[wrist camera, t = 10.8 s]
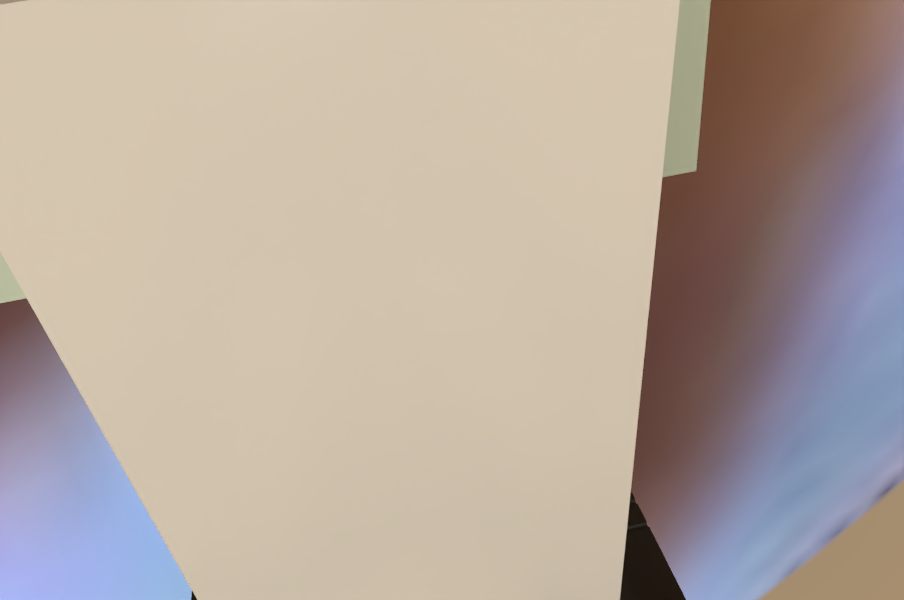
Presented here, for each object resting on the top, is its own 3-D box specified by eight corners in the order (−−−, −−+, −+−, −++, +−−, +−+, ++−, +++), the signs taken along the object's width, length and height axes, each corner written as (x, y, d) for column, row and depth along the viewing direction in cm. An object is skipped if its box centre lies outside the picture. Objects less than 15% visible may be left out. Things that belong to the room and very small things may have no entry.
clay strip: (62, -165, 7) (-129, 24, 3) (468, -219, 7) (690, -101, 4) (376, 725, 18) (408, 972, 15) (523, 688, 19) (587, 921, 15)
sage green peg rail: (-105, -311, 12) (-559, -401, 5) (546, -383, 13) (843, -533, 6) (258, 584, 24) (257, 882, 18) (568, 511, 25) (674, 768, 19)
